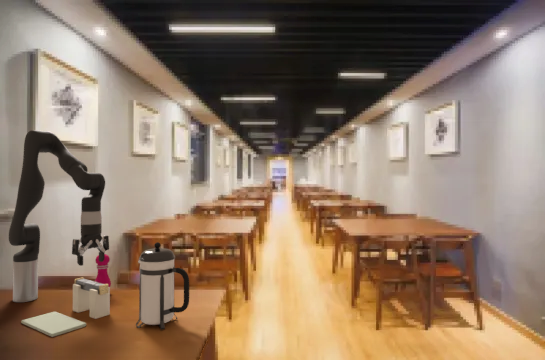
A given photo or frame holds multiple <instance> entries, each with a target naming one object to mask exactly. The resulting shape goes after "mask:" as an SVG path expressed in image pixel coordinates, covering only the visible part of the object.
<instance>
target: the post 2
mask: <svg viewBox="0 0 545 360" xmlns="http://www.w3.org/2000/svg"><path fill="white" fill-rule="evenodd" d="M110 300H111V286H110V287H108V293H106V294H103V295H99V294H98V290H95V289H90V309H89V318H92V319H95V320H96V319H99V318H103V317H105V316H109V315H111V312H110V311H111V307H110V306H111V305H110V304H111V301H110Z"/></svg>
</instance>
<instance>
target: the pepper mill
mask: <svg viewBox="0 0 545 360" xmlns="http://www.w3.org/2000/svg"><path fill="white" fill-rule="evenodd" d="M95 257H96V258H95V263H96V264H97V265H96V269H97V274H96V277H95V280H94V282H98V283H102V284H108V287H110V288H111V286H112V285H111V284H112V281H111V278H110V276H109V274H108V268H109V263H110V260H111V258H110V256H109V255H108V254H106V252H105V253H104V260H103V262H100V261H99V254H98V255H96V256H95Z"/></svg>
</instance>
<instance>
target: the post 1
mask: <svg viewBox="0 0 545 360" xmlns="http://www.w3.org/2000/svg"><path fill="white" fill-rule="evenodd" d="M85 311H90V291H87V290H83V289H81V285H78V284H75V283H72V312H74V313H75V312H76V313H81V312H85Z"/></svg>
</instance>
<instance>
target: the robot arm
mask: <svg viewBox="0 0 545 360" xmlns="http://www.w3.org/2000/svg"><path fill="white" fill-rule="evenodd" d="M39 153H40V154H43V153H45V154H46V153H50V154H52V155H54V156H55V157H56V158H57V159H58V160H57V162H58V164H59V167H60V168H61V170H63V171H64V172H65V173H66V174H67V175H69V176H70V177H71V179H72V181H73V182H74V184H75V185H76V187H78V188H79V189H81V190H82V191H89V193H88V195H86V196H84V197H82V199H81V204H80V206H81V213H80V214H81V215H80V236H81V237H80V238H73V239H72V243H71V245H72V247H71V255H73V256H77V258H76V260H77V261H76V263H77V265H78V266H84V254H85V252H87V250H89V249H93V248H94V249H97V250H98V251H99V252H98V255H99V261H100V262H103V260H104V253H105V254H106V251H109V250H110V239H109V237H110V236H109V235H107V234H103V235H102V218H103V217H102V199H103V195H104V191H105V188H106V179H105V176H104V175H103V174H102V173H101V172H89V171H88V167H87V165H86V164H85V163H84V162H82V160H80V159H78V157H76V156H75V155H74V154H73V153H72V152H71V151H70V150H69V149H68V148H67V146H65V145H64V143H63V142H62V140H60V138H59V137H58V136H57V135H56V134H55V133H54V132H52V131H48V130H40V129H39V130H38V129H37V130H36V129H31V130H29V131H27V133H26V135H25V138H24V144H23V156H22V157H23V158H22V165H21V174H20V179H19V183H18V189H17V197H16V203H15V207H14V212H13V215H12V220H11V223H10V226H9V230H8V242H9V244H10V245H11V246H12V247H13V246H14V247H19V246H25V247H24V248H23V249H21V250H19V251H18V252H16V253H15V254H14V255H12V256H13V257H12V302H14V303H25V302H32V301H34V300H37V299H38V298H39V297H38V296H39V295H38V294H39V288H38V287H39V253H40V244H41V241H40V240H41V229H40V227H39V225H38V224H37V223H36V222H30V223H26V220H27V218H28V216H29V214H30V213H31V212H32V211H33V210H34V209H35V207H37V205H38V204H39V203H40V202H41V200H42V198H43V195H44V190H45V179H44V177H43V174H42V172H41V169H40V168H39V164H38V163H39ZM101 241H102V243H101ZM79 245H80V247H79Z"/></svg>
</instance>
